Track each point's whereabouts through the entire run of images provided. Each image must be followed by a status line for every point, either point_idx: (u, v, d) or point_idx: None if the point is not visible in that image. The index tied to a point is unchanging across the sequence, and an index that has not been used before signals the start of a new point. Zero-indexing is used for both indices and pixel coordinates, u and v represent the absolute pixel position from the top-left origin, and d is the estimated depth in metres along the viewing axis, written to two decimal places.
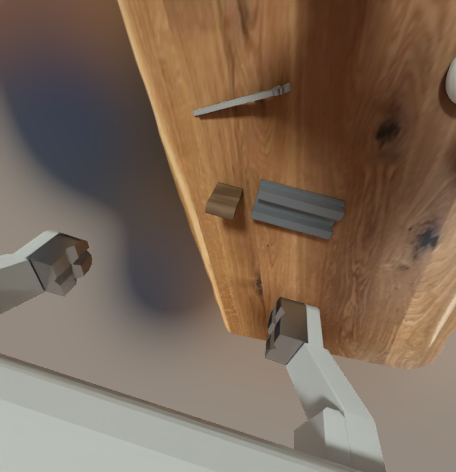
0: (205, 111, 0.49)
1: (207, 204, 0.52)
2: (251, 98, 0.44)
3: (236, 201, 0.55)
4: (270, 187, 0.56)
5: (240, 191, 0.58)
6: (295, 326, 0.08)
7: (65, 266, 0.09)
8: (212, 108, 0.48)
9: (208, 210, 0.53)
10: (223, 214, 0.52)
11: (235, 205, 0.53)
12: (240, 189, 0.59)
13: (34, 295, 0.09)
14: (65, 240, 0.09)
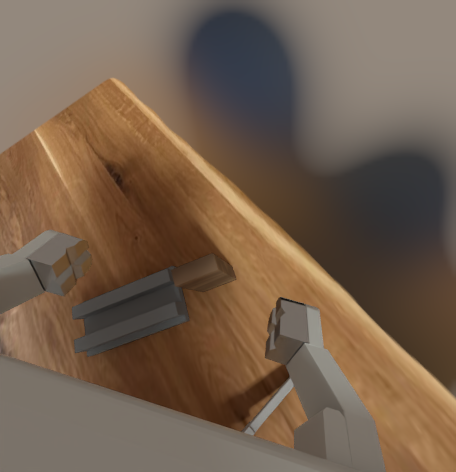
0: None
1: (215, 268, 0.32)
2: (250, 431, 0.31)
3: (190, 287, 0.36)
4: (171, 321, 0.41)
5: (201, 290, 0.41)
6: (295, 326, 0.08)
7: (65, 266, 0.09)
8: None
9: (209, 260, 0.32)
10: (186, 269, 0.33)
11: (184, 287, 0.34)
12: (204, 290, 0.42)
13: (34, 295, 0.09)
14: (65, 240, 0.09)
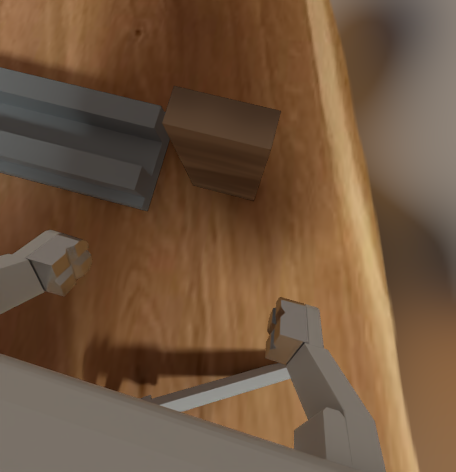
0: (267, 377, 0.21)
1: (266, 145, 0.13)
2: None
3: (183, 157, 0.18)
4: (118, 193, 0.23)
5: (194, 180, 0.23)
6: (295, 327, 0.08)
7: (65, 266, 0.09)
8: (248, 385, 0.21)
9: (265, 120, 0.14)
10: (207, 107, 0.14)
11: (176, 144, 0.16)
12: (197, 184, 0.24)
13: (34, 295, 0.09)
14: (65, 240, 0.09)
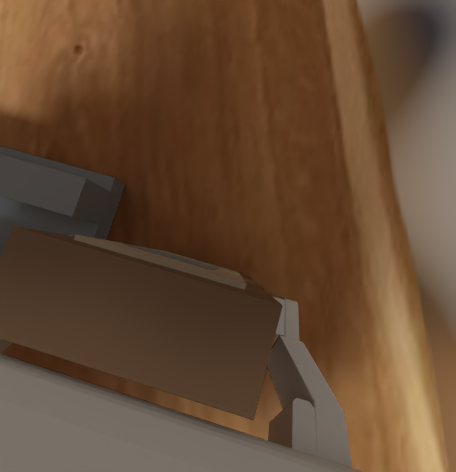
0: None
1: (243, 405, 0.05)
2: None
3: None
4: None
5: None
6: None
7: None
8: None
9: (241, 332, 0.05)
10: (91, 288, 0.05)
11: None
12: None
13: None
14: None
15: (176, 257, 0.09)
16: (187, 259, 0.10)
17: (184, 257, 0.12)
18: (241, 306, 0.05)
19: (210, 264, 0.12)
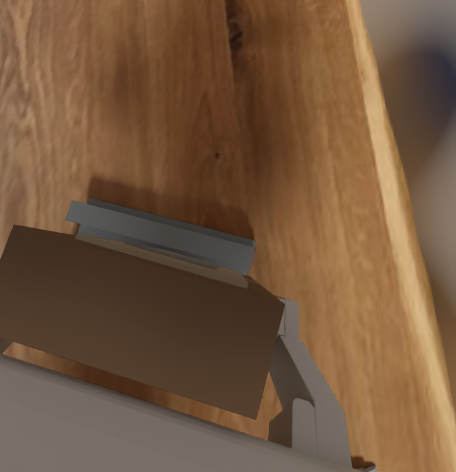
0: None
1: (245, 404, 0.05)
2: None
3: None
4: None
5: None
6: None
7: None
8: None
9: (244, 331, 0.05)
10: (93, 287, 0.05)
11: None
12: None
13: None
14: None
15: (177, 256, 0.09)
16: (188, 258, 0.10)
17: (185, 256, 0.12)
18: (243, 305, 0.05)
19: None
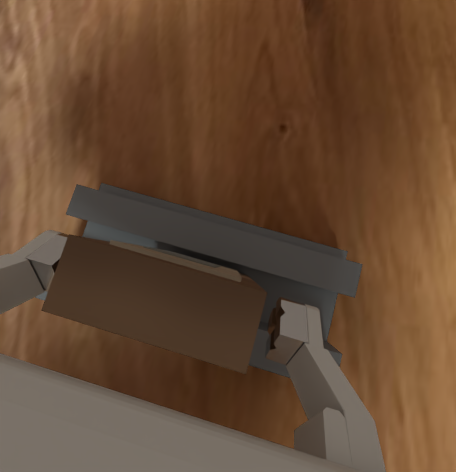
0: None
1: (238, 363, 0.07)
2: None
3: None
4: None
5: None
6: (295, 327, 0.08)
7: None
8: None
9: (237, 311, 0.07)
10: (128, 280, 0.07)
11: None
12: None
13: (34, 295, 0.09)
14: (65, 240, 0.09)
15: (185, 257, 0.11)
16: (193, 259, 0.12)
17: (190, 257, 0.14)
18: (237, 293, 0.07)
19: (212, 263, 0.14)
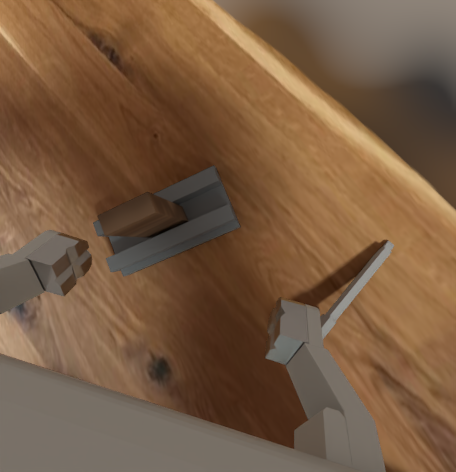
0: (378, 260, 0.32)
1: (152, 211, 0.25)
2: (331, 321, 0.31)
3: (129, 235, 0.30)
4: (221, 228, 0.35)
5: (148, 236, 0.35)
6: (295, 326, 0.08)
7: (65, 266, 0.09)
8: (371, 271, 0.32)
9: (144, 201, 0.26)
10: (117, 214, 0.26)
11: (120, 235, 0.28)
12: (152, 236, 0.36)
13: (34, 295, 0.09)
14: (65, 240, 0.09)
15: None
16: None
17: None
18: (141, 197, 0.26)
19: None
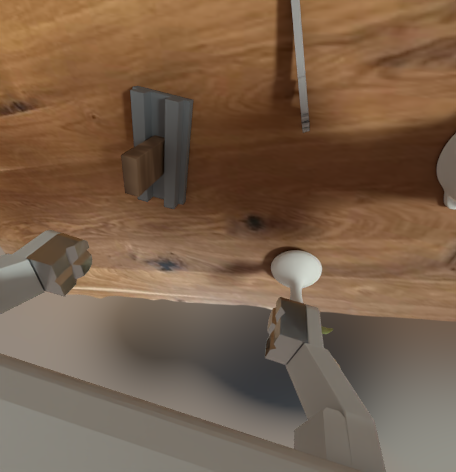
0: None
1: (135, 160, 0.35)
2: (302, 79, 0.32)
3: (150, 183, 0.42)
4: (184, 117, 0.40)
5: (163, 172, 0.46)
6: (295, 326, 0.08)
7: (65, 266, 0.09)
8: None
9: (126, 160, 0.35)
10: (128, 181, 0.37)
11: (145, 188, 0.40)
12: None
13: (34, 295, 0.09)
14: (65, 240, 0.09)
15: None
16: None
17: None
18: (123, 160, 0.35)
19: None
